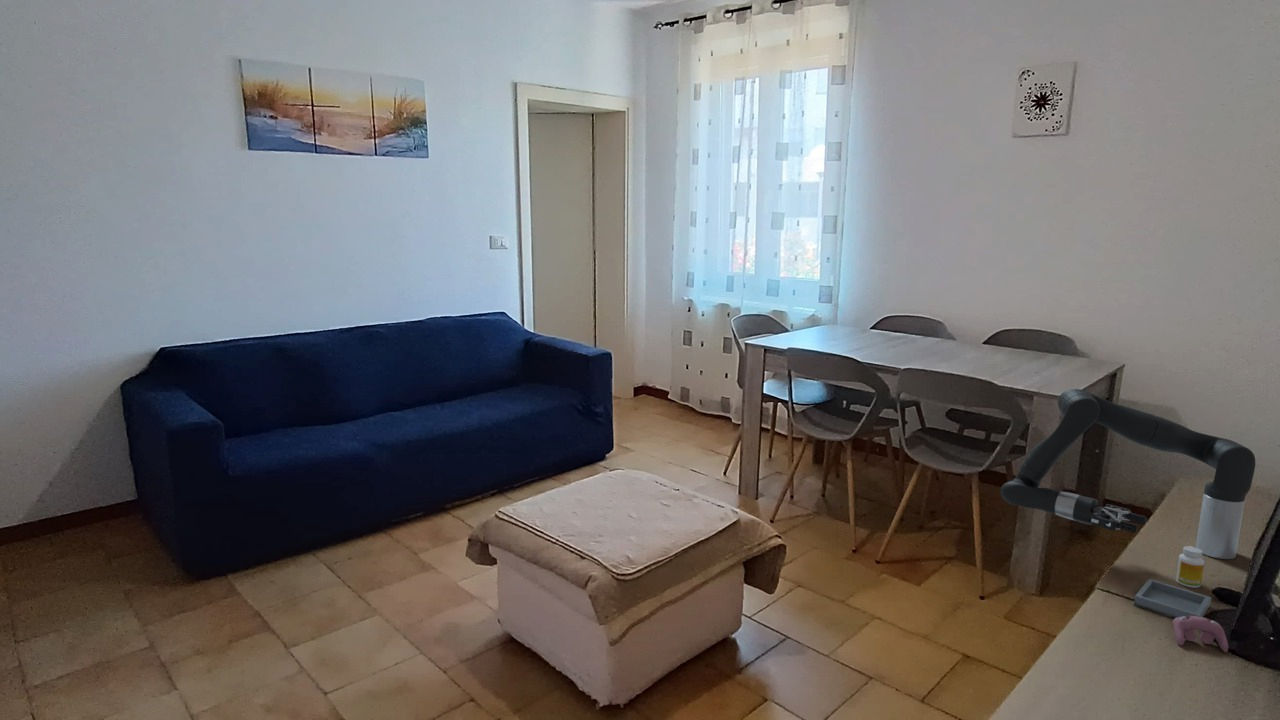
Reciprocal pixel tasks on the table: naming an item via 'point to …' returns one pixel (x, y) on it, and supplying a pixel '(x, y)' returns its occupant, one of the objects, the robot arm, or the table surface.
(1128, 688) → the table surface
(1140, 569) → the table surface
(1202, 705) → the table surface
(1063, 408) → the robot arm
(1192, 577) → the supplement bottle
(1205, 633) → the video game controller
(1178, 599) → the tray
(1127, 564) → the table surface
